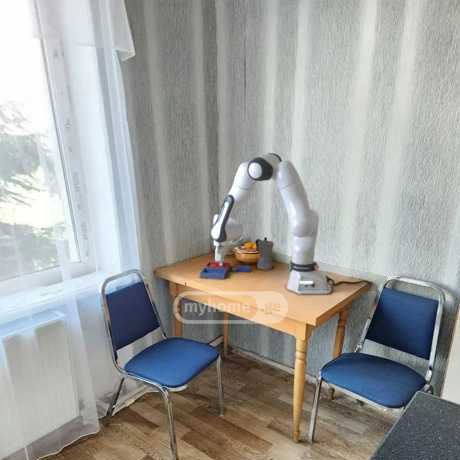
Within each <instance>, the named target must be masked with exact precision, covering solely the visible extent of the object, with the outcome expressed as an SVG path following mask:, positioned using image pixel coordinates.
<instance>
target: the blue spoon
mask: <svg viewBox="0 0 460 460" xmlns="http://www.w3.org/2000/svg"><path fill="white" fill-rule="evenodd" d="M231 271H232V272H248V273H249V272H251V266H249V265H237V267H232V268H231Z"/></svg>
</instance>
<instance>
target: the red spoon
mask: <svg viewBox="0 0 460 460" xmlns="http://www.w3.org/2000/svg"><path fill="white" fill-rule="evenodd" d="M215 262H216V261H215ZM228 263H229V262H226V263H223V265H222V266H220V265H219V262H216V263H215V265H214V264H211V265H210V267H227V266H228Z"/></svg>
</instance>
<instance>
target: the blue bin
mask: <svg viewBox="0 0 460 460" xmlns="http://www.w3.org/2000/svg"><path fill="white" fill-rule="evenodd" d="M227 274H228V272H227V269H222V268H205V267H203V269H202V270H201V271H200V273H199V276H200V279H212V280H213V279H215V280H225V278H226V277H227Z"/></svg>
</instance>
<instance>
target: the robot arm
mask: <svg viewBox="0 0 460 460" xmlns="http://www.w3.org/2000/svg"><path fill="white" fill-rule="evenodd" d="M235 173H236V174H235V176H234V180H233V183H232V186H231V188H230V190H229V192H228V194H227V196H225V198H224V199H223V202H222V204H221V207H220V209H219V212H218V213H215V214H214V216H213V220H212V221H213V222H212V227H211V230H210V236H211V238H212V240H213V245H214V246H215V251H214V256H215V257H214V262H219V265H220V266H222V265H223V263H224V262H225V256H226V255H227V254H228V251H229V245H230V241H231V240H234V239H238V238H240V237H241V236H242V234H243V225H242V224H241V222H240V221H239V220H235V219H233V218H232V217H231V216H232V214H233V212H234V211H235V210H236V209H237V208H239V207H241V206H242V205H244V204H246V203H247V202H249V201H250V200H251V198H252V197H253V195H254V192H255V189H256V185H257V182H263V181H264V182H265V181H270V180H273V181H274V182H275V184H276V186H277V189H278V191H279V194H280V196H281V198H282V201H283V204H284V206H285V210H286V214H287V219H288V221H289V225H290V231H291V233H292V235H293V241H292V247H291V260H290V262H289V277H288V280H287V284H286V289H287V290H289V291H292V292H294V293H296V294H298V295H328V294H330V293H331V292H332V286H331V284H330V282H332V285H333V286H338V285H340V284H349V285H355V284H356V285H357V284H360V283H367V284H368V285H369V284H371V283H370V281H368V280H366V279H364V280H363V279H362V280H359V281H345V280H342V281H338V282H337V283H335V280H334V279H332V278H330V276H328V275H325V274H324V273H323V272H322V271H321V270H319V267H320V266H319V265H318V262H317V261H315V253H316V252H315V251H316V244H317V237H318V232H319V223H320V216H319V214H318V212H317V211H316V210H314V209H312V208H311V207H310V203H309V198H308V193H307V192H306V190H305V186H304V184H303V181H302V179H301V176H300V174H299V172H298V170H297V169H296V167H295V165H294V163H292V161H290V160H282V158H281V156H280V155H279V154H277V153H276V152H275V153H273V152H272V153H271V152H269V153H266V154H265V153H264V154H261V155H258V156H256V157H253V158H252V159H251V160H250V161H244V162H242V163H240V165H239V166H238V169H237V171H236V172H235Z"/></svg>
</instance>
